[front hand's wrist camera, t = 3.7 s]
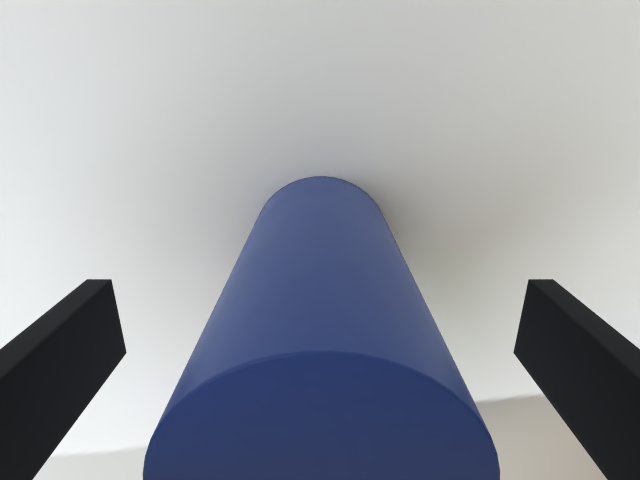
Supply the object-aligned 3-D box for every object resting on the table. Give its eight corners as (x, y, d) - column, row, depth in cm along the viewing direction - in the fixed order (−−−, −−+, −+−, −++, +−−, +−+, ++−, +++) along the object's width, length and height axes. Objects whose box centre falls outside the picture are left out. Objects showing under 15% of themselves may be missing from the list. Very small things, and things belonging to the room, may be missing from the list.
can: (233, 202, 18) (70, 415, 6) (364, 156, 17) (457, 300, 5) (283, 315, 20) (231, 631, 8) (402, 278, 19) (527, 569, 8)
